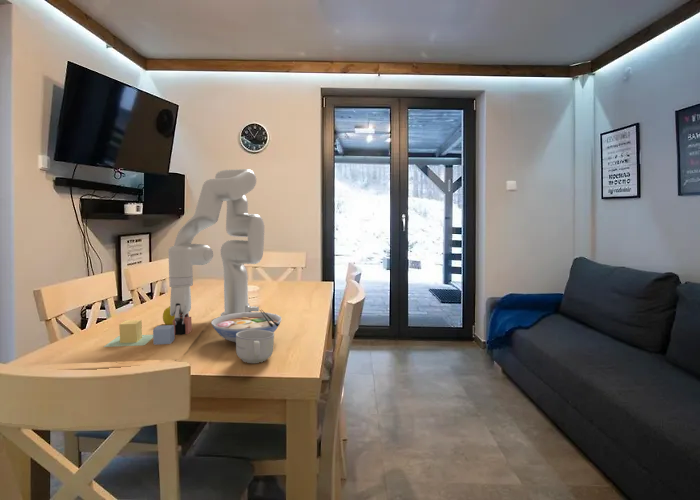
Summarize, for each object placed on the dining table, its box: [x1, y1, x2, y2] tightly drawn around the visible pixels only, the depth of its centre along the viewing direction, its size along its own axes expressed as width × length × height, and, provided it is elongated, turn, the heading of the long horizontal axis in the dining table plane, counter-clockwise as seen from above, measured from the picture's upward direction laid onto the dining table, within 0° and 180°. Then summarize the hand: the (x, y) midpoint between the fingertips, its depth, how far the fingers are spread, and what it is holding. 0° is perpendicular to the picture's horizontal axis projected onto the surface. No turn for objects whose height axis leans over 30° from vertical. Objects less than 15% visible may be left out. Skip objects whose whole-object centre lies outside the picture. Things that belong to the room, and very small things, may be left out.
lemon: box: [162, 305, 175, 325], centre depth 156 cm, size 6×6×8 cm
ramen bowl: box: [210, 308, 282, 343], centre depth 139 cm, size 25×23×8 cm
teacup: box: [235, 330, 275, 364], centre depth 119 cm, size 14×11×8 cm
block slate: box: [152, 324, 175, 345], centre depth 134 cm, size 5×5×6 cm
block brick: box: [173, 316, 193, 335], centre depth 146 cm, size 5×5×6 cm
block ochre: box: [118, 319, 143, 343], centre depth 136 cm, size 5×5×6 cm
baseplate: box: [103, 334, 153, 348], centre depth 136 cm, size 12×12×1 cm
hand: (182, 332), depth 146 cm, fingers closed on block brick, 4 cm apart
